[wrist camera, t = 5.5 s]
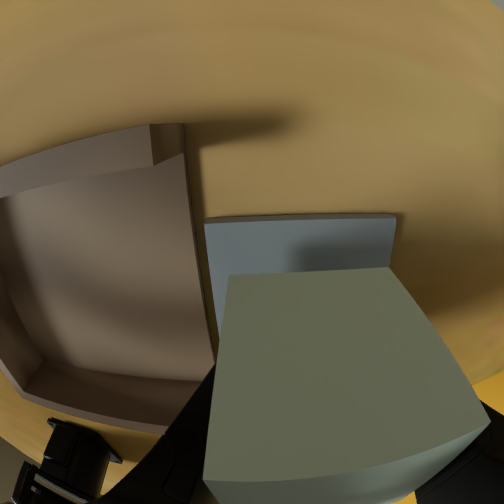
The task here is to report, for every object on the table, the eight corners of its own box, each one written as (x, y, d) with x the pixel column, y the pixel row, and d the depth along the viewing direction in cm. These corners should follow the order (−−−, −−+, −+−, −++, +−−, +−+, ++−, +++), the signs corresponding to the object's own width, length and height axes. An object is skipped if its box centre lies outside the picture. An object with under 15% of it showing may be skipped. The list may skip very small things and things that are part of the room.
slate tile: (364, 347, 13) (367, 355, 13) (224, 356, 13) (223, 365, 13) (390, 213, 10) (396, 218, 10) (206, 218, 10) (203, 223, 10)
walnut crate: (220, 387, 14) (215, 439, 11) (42, 364, 15) (22, 398, 12) (183, 123, 9) (149, 124, 6) (-28, 181, 9) (-70, 202, 6)
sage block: (361, 372, 10) (400, 500, 5) (240, 382, 11) (235, 523, 5) (388, 266, 8) (490, 421, 3) (228, 274, 8) (202, 479, 3)
